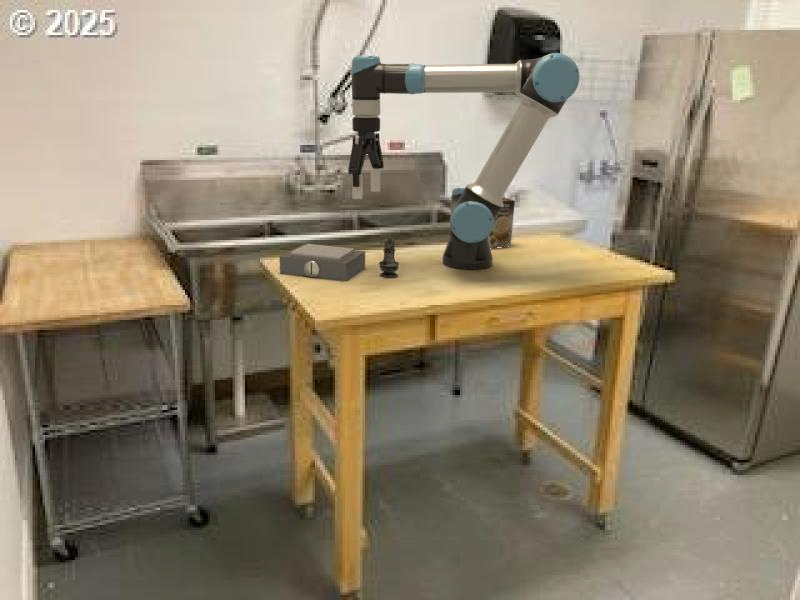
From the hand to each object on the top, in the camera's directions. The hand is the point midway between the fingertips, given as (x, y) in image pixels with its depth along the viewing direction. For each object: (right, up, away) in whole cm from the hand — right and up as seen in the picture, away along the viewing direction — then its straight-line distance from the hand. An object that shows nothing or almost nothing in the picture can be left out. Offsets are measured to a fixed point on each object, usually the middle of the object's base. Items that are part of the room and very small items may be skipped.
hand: (366, 195), depth 187 cm
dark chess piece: (+6, -23, +2) cm, 24 cm away
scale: (-13, -21, +5) cm, 25 cm away
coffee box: (+42, -11, +40) cm, 59 cm away
